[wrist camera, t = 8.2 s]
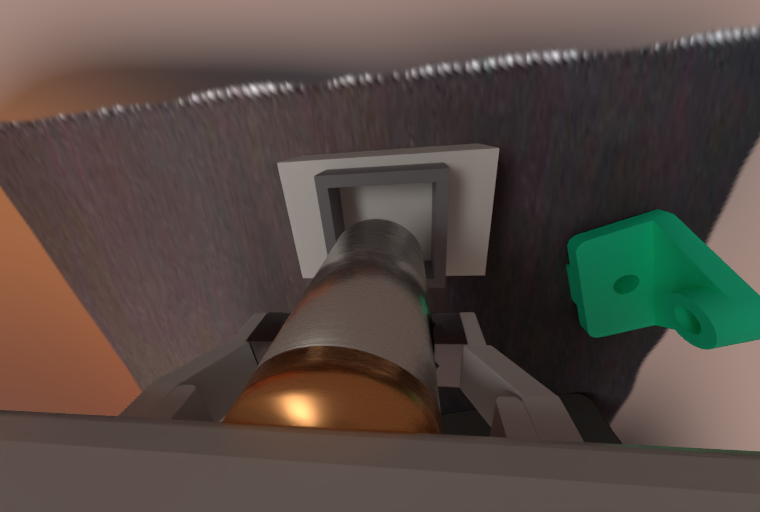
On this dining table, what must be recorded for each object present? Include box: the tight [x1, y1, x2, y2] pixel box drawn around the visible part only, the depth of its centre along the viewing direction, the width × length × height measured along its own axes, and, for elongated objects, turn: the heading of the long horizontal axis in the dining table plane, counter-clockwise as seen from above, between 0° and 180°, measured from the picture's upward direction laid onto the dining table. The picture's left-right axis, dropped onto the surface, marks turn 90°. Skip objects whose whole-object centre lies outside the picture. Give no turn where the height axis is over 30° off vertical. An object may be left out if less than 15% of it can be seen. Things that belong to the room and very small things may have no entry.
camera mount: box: [566, 209, 760, 349], centre depth 23 cm, size 12×8×10 cm, turn 24°
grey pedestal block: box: [277, 143, 499, 288], centre depth 23 cm, size 16×10×9 cm, turn 94°
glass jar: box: [222, 219, 443, 434], centre depth 10 cm, size 5×5×10 cm
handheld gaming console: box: [441, 393, 622, 444], centre depth 34 cm, size 23×3×10 cm, turn 112°
